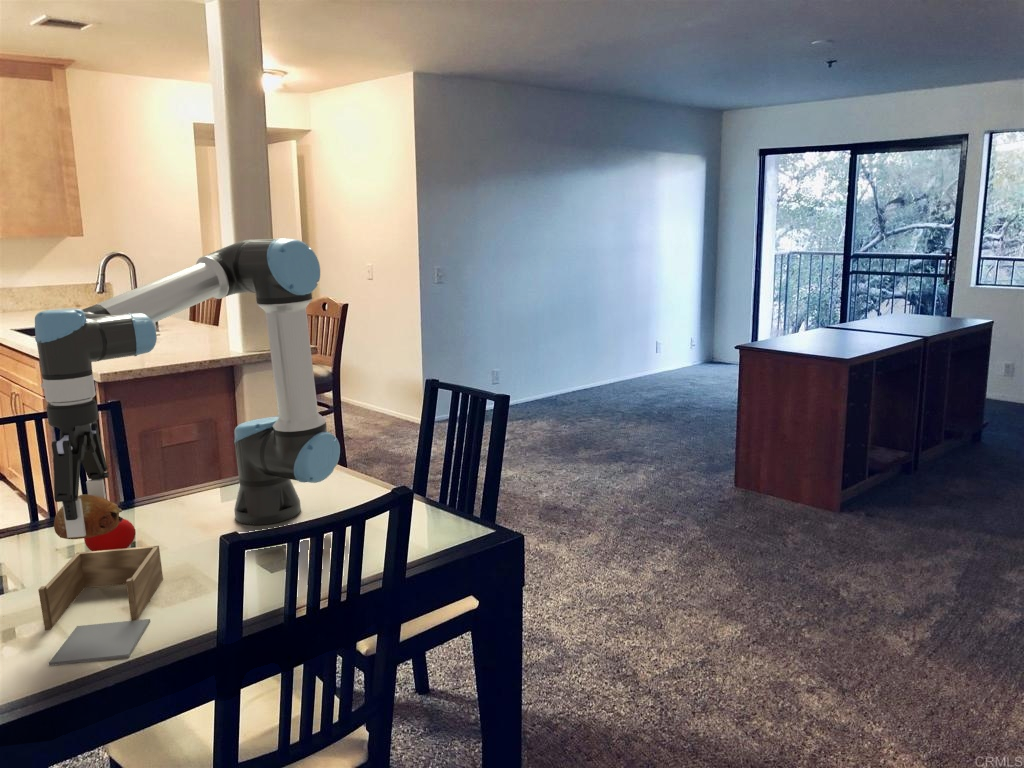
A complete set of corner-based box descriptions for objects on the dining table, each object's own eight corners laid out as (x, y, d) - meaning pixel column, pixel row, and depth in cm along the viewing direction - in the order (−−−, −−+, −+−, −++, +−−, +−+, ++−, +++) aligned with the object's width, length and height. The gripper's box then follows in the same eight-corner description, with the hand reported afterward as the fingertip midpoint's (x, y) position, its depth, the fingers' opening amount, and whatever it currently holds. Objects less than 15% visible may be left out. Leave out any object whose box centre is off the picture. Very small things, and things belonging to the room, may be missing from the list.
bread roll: (87, 538, 146) (62, 501, 144) (136, 512, 145) (111, 475, 144) (60, 560, 136) (33, 521, 134) (113, 533, 136) (86, 493, 134)
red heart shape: (89, 579, 158) (82, 531, 156) (89, 566, 165) (82, 520, 163) (140, 568, 163) (134, 522, 161) (138, 556, 169) (132, 511, 167)
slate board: (150, 621, 140) (149, 618, 140) (128, 657, 129) (128, 654, 129) (77, 628, 139) (77, 626, 139) (49, 665, 127) (48, 662, 127)
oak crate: (163, 578, 157) (158, 542, 156) (136, 621, 141) (130, 581, 139) (82, 586, 155) (76, 549, 154) (44, 630, 138) (38, 589, 137)
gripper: (74, 389, 146) (90, 505, 151) (16, 417, 124) (37, 552, 129) (117, 386, 147) (132, 502, 152) (67, 414, 125) (86, 548, 130)
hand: (88, 525), depth 140 cm, fingers closed on bread roll, 10 cm apart
